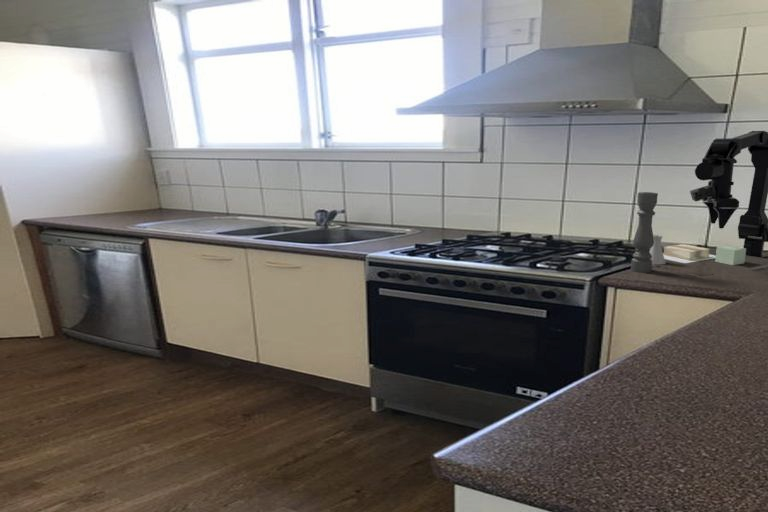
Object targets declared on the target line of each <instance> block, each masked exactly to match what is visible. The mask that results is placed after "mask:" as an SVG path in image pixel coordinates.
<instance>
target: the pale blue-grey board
mask: <svg viewBox="0 0 768 512" xmlns="http://www.w3.org/2000/svg"><path fill="white" fill-rule="evenodd" d="M663 256H664V259H665V260H667V261H672V262H677V263H680V264H689V263H695V262H701V261H707V260H714V259H715V258H716V254H715V255H714V254H710V253H709V257H708V258H702V259H696V260H685V259H680V258H675V257H671V256H666V255H664V252H663Z"/></svg>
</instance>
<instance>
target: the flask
mask: <svg viewBox="0 0 768 512" xmlns="http://www.w3.org/2000/svg"><path fill="white" fill-rule="evenodd" d="M653 238H654V245H653V246H652V248H651V249H650V251H649V252H650V254H651V255H652V258H651V260H652V267H654V268H655V267H657V268H660V267H663V265H666V264H667V263H666V259H664V256H663V253H664V251H663V249H662V239H663V235H658V234H657V235H656V234H653Z"/></svg>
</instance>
